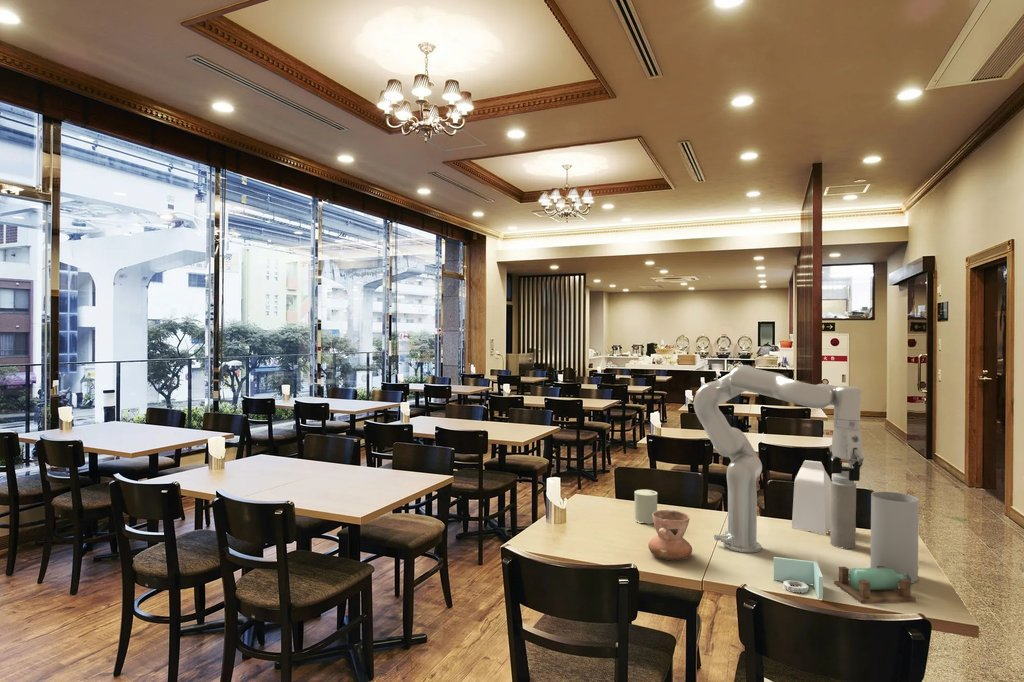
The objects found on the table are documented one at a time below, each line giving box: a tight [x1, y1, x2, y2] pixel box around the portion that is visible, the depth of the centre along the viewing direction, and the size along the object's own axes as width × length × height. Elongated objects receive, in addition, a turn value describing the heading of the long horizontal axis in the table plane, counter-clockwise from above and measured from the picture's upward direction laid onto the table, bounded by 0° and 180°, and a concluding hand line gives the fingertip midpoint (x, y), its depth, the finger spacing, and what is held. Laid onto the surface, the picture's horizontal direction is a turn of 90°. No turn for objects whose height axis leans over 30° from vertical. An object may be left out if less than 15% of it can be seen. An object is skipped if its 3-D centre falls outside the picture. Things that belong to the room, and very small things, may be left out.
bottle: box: [849, 567, 911, 591], centre depth 177 cm, size 16×6×6 cm, turn 93°
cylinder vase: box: [870, 491, 920, 584], centre depth 188 cm, size 12×12×25 cm
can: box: [633, 489, 658, 523], centre depth 244 cm, size 9×9×12 cm
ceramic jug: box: [647, 509, 693, 561], centre depth 206 cm, size 18×14×14 cm
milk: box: [791, 459, 832, 535], centre depth 235 cm, size 12×12×26 cm
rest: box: [833, 566, 917, 604], centre depth 177 cm, size 16×13×6 cm
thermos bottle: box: [829, 465, 857, 549], centre depth 216 cm, size 8×8×28 cm
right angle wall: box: [773, 556, 824, 599], centre depth 178 cm, size 12×12×8 cm
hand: (845, 476), depth 196 cm, fingers open, 9 cm apart
